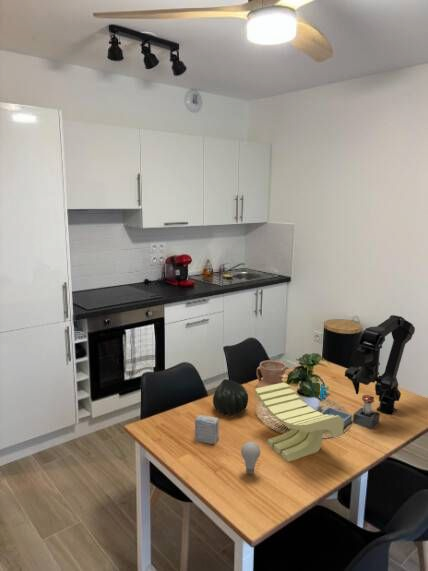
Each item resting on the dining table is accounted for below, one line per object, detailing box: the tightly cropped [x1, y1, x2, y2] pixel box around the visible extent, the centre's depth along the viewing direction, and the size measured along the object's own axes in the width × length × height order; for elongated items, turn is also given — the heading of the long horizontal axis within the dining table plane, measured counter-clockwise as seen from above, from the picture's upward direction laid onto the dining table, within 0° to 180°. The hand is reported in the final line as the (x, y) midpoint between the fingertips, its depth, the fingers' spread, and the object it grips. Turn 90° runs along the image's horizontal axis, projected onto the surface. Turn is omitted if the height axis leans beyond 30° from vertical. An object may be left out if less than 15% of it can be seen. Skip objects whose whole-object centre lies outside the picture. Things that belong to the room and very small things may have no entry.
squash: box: [212, 378, 249, 417], centre depth 179 cm, size 14×15×15 cm
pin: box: [361, 394, 375, 417], centre depth 171 cm, size 4×4×11 cm
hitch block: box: [352, 407, 381, 430], centre depth 171 cm, size 8×8×4 cm
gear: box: [319, 382, 330, 401], centre depth 196 cm, size 11×6×10 cm
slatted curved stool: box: [254, 382, 344, 462], centre depth 153 cm, size 30×16×18 cm, turn 27°
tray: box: [320, 406, 353, 429], centre depth 172 cm, size 10×10×3 cm
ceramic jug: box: [256, 359, 288, 388], centre depth 197 cm, size 18×14×14 cm
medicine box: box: [194, 414, 220, 446], centre depth 157 cm, size 8×4×9 cm, turn 71°
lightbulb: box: [240, 441, 261, 475], centre depth 137 cm, size 6×6×11 cm
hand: (368, 397), depth 170 cm, fingers open, 9 cm apart
